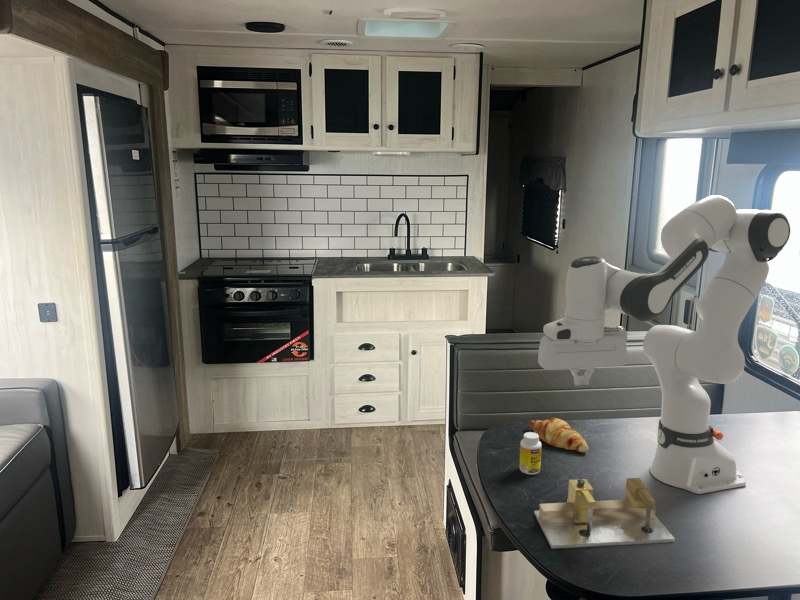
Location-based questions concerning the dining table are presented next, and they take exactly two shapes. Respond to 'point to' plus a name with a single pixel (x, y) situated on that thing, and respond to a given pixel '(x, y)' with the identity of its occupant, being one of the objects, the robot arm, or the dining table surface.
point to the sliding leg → (581, 501)
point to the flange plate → (604, 532)
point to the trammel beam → (608, 506)
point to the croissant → (559, 434)
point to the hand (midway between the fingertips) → (581, 384)
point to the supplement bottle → (530, 453)
